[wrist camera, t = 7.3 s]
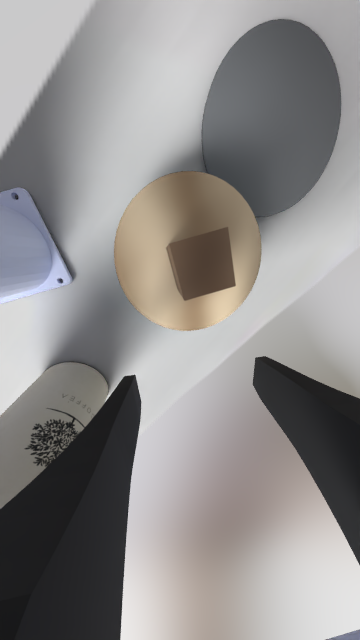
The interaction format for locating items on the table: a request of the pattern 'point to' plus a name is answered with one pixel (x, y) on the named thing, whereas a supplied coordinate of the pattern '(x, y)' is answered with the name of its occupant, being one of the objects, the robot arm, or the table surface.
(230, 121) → the mat
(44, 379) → the travel mug
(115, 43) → the table surface
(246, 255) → the lid
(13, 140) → the table surface
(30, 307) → the table surface
